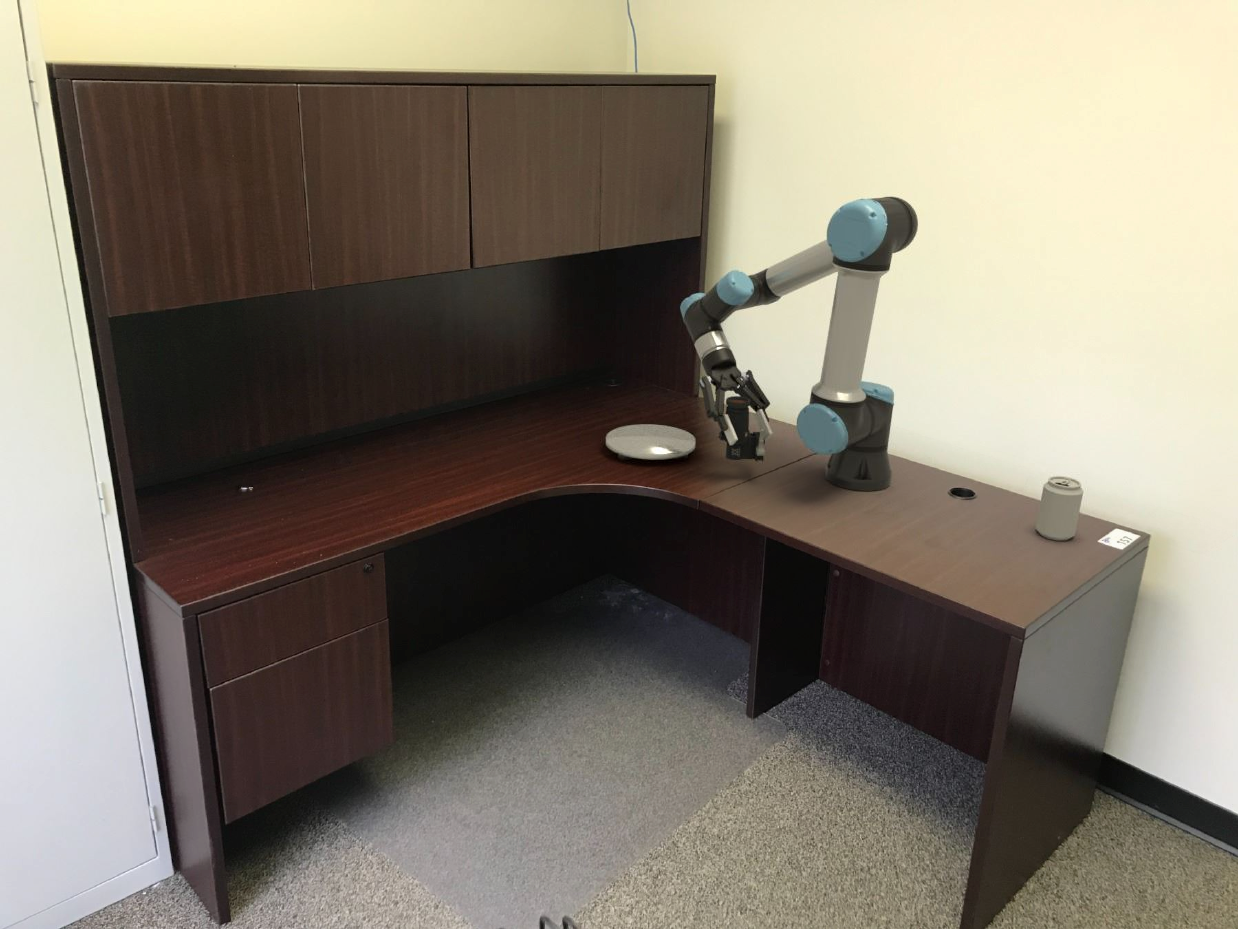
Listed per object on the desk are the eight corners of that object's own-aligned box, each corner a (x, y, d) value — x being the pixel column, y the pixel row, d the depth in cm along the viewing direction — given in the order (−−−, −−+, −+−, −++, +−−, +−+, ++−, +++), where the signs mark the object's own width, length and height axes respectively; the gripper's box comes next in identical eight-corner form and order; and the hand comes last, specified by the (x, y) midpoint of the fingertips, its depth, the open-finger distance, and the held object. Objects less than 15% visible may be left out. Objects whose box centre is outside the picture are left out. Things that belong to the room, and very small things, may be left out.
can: (1028, 533, 209) (1038, 479, 205) (1044, 524, 214) (1054, 471, 210) (1064, 545, 204) (1075, 490, 200) (1080, 535, 209) (1091, 481, 205)
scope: (768, 404, 224) (724, 404, 224) (764, 463, 229) (720, 463, 228) (761, 394, 232) (718, 394, 231) (757, 451, 237) (714, 451, 236)
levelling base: (713, 455, 248) (714, 442, 247) (644, 473, 235) (644, 459, 234) (655, 431, 264) (655, 419, 263) (587, 447, 251) (588, 434, 250)
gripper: (746, 359, 244) (781, 440, 237) (670, 368, 235) (704, 453, 227) (761, 342, 238) (797, 425, 230) (683, 350, 228) (718, 438, 221)
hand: (751, 439), depth 229 cm, fingers closed on scope, 9 cm apart
